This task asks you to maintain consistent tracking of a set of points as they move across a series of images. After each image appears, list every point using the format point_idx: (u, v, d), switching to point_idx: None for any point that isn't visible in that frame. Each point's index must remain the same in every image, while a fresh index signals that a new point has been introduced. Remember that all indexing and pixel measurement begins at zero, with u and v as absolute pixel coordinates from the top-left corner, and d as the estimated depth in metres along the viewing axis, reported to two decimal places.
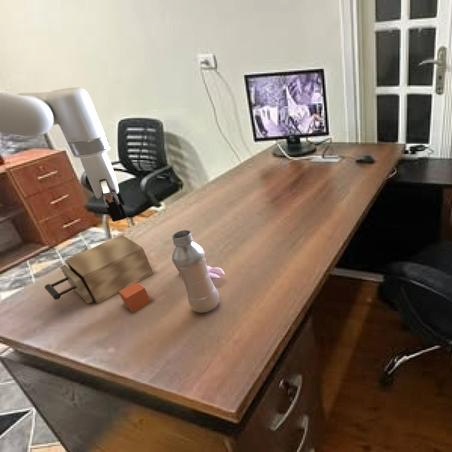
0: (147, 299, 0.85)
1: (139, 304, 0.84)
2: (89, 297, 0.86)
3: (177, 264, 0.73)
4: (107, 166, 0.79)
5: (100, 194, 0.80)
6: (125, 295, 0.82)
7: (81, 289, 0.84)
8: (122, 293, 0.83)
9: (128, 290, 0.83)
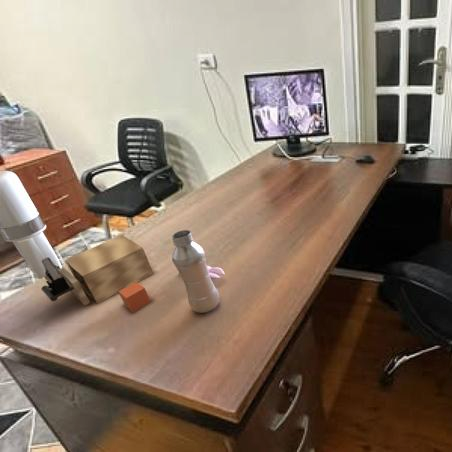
0: (147, 299, 0.85)
1: (139, 304, 0.84)
2: (86, 299, 0.85)
3: (177, 264, 0.73)
4: (48, 244, 0.78)
5: None
6: (125, 295, 0.82)
7: (78, 291, 0.84)
8: (122, 293, 0.83)
9: (128, 290, 0.83)
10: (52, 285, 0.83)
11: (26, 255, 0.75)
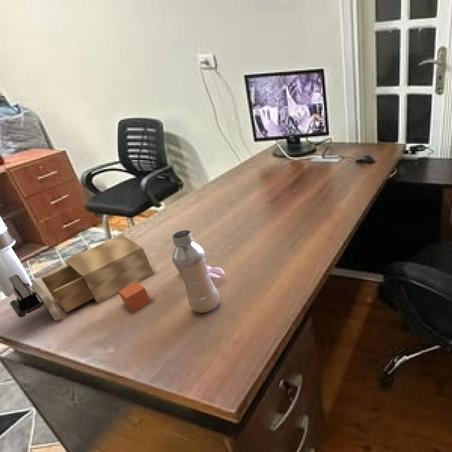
0: (147, 299, 0.85)
1: (139, 304, 0.84)
2: (57, 314, 0.81)
3: (177, 264, 0.73)
4: (16, 261, 0.74)
5: None
6: (125, 295, 0.82)
7: (48, 306, 0.80)
8: (122, 293, 0.83)
9: (128, 290, 0.83)
10: (22, 302, 0.80)
11: None
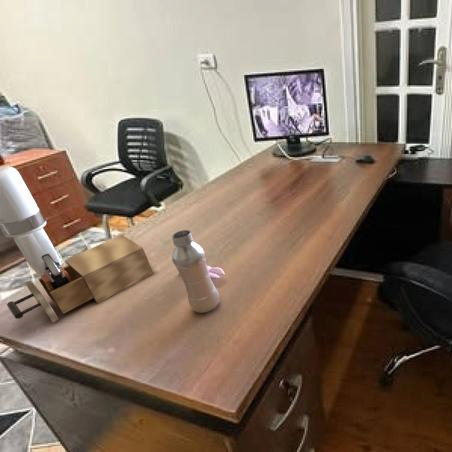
0: None
1: None
2: (54, 315, 0.81)
3: (177, 264, 0.73)
4: (48, 240, 0.78)
5: (45, 273, 0.79)
6: (46, 279, 0.82)
7: (45, 307, 0.79)
8: (43, 277, 0.83)
9: (50, 274, 0.83)
10: (54, 284, 0.82)
11: (26, 251, 0.75)
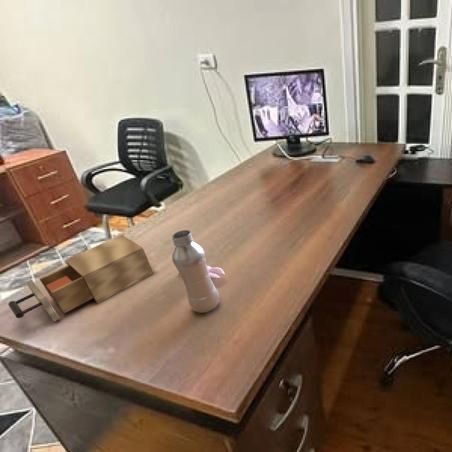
0: None
1: None
2: (55, 315, 0.81)
3: (177, 264, 0.73)
4: None
5: None
6: (51, 289, 0.83)
7: (46, 307, 0.79)
8: (49, 287, 0.84)
9: (56, 284, 0.85)
10: None
11: None
